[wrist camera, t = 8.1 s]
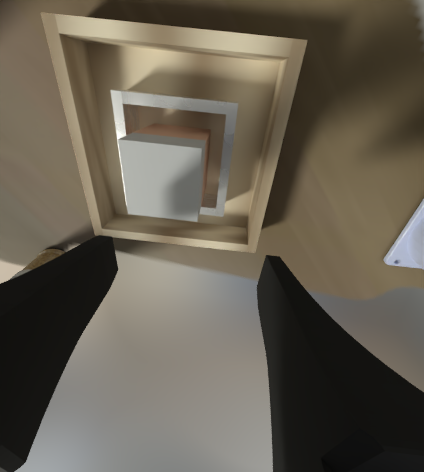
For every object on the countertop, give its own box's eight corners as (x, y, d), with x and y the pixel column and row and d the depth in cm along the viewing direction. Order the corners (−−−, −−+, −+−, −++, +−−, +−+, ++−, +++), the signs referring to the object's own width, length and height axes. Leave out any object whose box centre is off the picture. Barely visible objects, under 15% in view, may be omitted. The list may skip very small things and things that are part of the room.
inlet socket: (237, 101, 14) (238, 103, 12) (224, 202, 18) (223, 216, 16) (127, 89, 15) (110, 90, 12) (138, 193, 18) (126, 206, 16)
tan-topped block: (210, 129, 15) (201, 148, 10) (206, 184, 18) (197, 221, 13) (153, 123, 16) (117, 139, 11) (156, 179, 18) (127, 213, 13)
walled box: (292, 49, 13) (307, 40, 11) (252, 232, 20) (255, 253, 18) (76, 26, 13) (40, 12, 11) (111, 217, 20) (94, 235, 18)
